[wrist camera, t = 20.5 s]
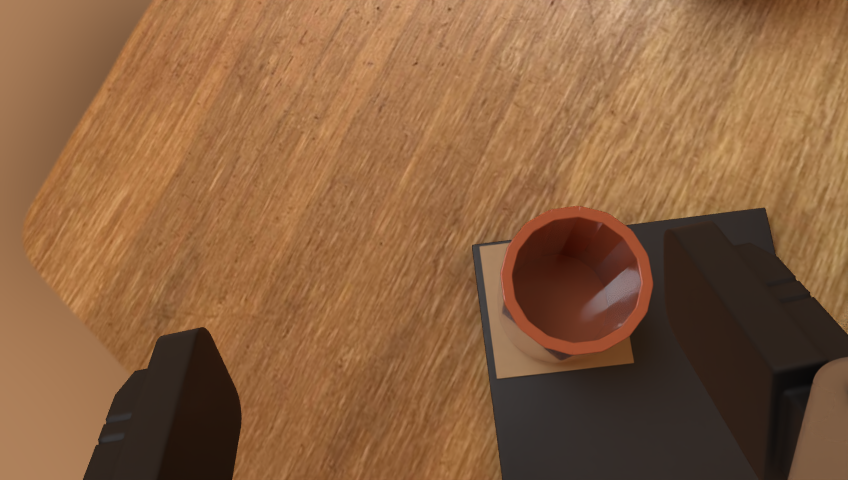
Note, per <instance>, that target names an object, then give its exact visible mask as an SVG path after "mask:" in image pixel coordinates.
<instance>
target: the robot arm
mask: <svg viewBox="0 0 848 480" xmlns="http://www.w3.org/2000/svg"><path fill="white" fill-rule="evenodd" d="M663 246H664V293H665V308H666V313H667V317H668V321H669V324H670V327H671V329H672V332H673V334H674V336H675V338H676V339H677V341H678V343H679V345H680V346H681V348H682V350H683V351H684V353H685V355H686V357H687V358H688V360H689V362H690V363H691V365H692V367H693V368H694V370H695V372H696V374H697V375H698V377H699V379H700V380H701V382H702V384H703V385H704V387H705V389H706V391H707V392H708V394H709V396H710V397H711V399H712V401H713V402H714V404H715V406H716V408H717V409H718V411H719V413H720V414H721V416H722V418H723V420H724V421H725V423H726V425H727V426H728V428H729V430H730V431H731V433H732V435H733V437H734V438H735V440H736V442H737V443H738V445H739V447H740V448H741V450H742V452H743V454H744V455H745V457H746V459H747V460H748V462H749V464H750V465H751V467H752V469H753V471H754V472H755V474H756V476H757V477H758V479H759V480H848V334H847V333H846V332H845V331H844V330H843V329H842V328H841V327H840V326H839V324H838V323H837V322H836V321H835V320H834V319H833V318H832V317H831V316H830V315H829V313H828V312H827V311H826V310H825V309H824V308H823V307H822V306H821V305H820V303H819V302H818V301H817V300H816V299H815V298H814V297H812V298H811V296H810V292H809V291H808V290H807V289H806V288H805V287H804V286H803V285H802V283H801V282H800V281H796V278H795V276H794V275H793V273H792V272H791V271H790V270H789V269H788V268H787V267H786V266H785V265H784V263H783V262H782V261H781V260H780V259H779V258H778V257H777V256H775V255H773V254H771V253H769V252H767V251H765V250H763V249H761V248H760V247H758V246H756V245H754V244H752V243H750V242H749V243H745V244H740V245H735V246H734V245H733V244H732V243H731V242H730V240H729V239H728V238H727V237H726V236H725V234H724V233H723V232H722V231H721V230H720V228H719V227H718V226H717V225H716V224H715V223H714V222H713V221H705V222H700V223H696V224H691V225H686V226H682V227H677V228H672V229H667V230H666V231H665V233H664V240H663ZM241 419H242V418H241V406H240V400H239V396H238V393H237V390H236V388H235V386H234V383H233V381H232V379H231V377H230V375H229V373H228V371H227V368H226V366H225V364H224V362H223V360H222V358H221V356H220V353H219V351H218V349H217V347H216V345H215V343H214V341H213V338H212V336H211V334H210V333H209V331H208V330H207V329H206V328H204V327H201V328H196V329H192V330H187V331H182V332H178V333H173V334H168V335H164V336H160V337H159V338H158V340H157V342H156V345H155V348H154V350H153V353H152V356H151V359H150V362H149V365H148V368H147V369H143V370H138V371H135V372H134V373H133V374H132V375H131V376H130V378H129V379H128V380H127V381H126V383H125V384H124V385H123V386H122V388H121V389H120V390H119V391H118V392H117V394H116V395H115V397H114V399H113V402H112V404H111V407H110V410H109V412H108V415H107V418H106V424H105V425H104V426H103V428H102V431H101V433H100V436H99V439H98V441H99V445H96V447H95V449H94V452H93V455H92V457H91V460H90V462H89V465H88V468H87V470H86V473H85V475H84V478H83V480H232V477H233V471H234V465H235V459H236V453H237V447H238V441H239V435H240V429H241Z"/></svg>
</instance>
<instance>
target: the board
mask: <svg viewBox="0 0 848 480" xmlns="http://www.w3.org/2000/svg"><path fill="white" fill-rule="evenodd" d="M705 221H713V222H714V223H715V224H716V225H717V226H718V227H719V228H720V230H721V231H722V232H723V233H724V234H725V236H726V237H727V238H728V239H729V240H730V242H731V243H732V244H733V245H734V246H735V245H740V244H745V243H749V242H750V243H752V244H754V245H756V246H758V247H760V248H761V249H763V250H765V251H767V252H769V253H771V254H773V255H775V256H776V254H775V250H774V245H773V241H772V236H771V232H770V227H769V223H768V218H767V214H766V209H765V208H757V209H749V210H742V211H734V212H726V213H718V214H710V215H702V216H695V217H687V218H679V219H671V220H663V221H655V222H648V223H640V224H632V225H625V226H627V227H628V228H630V229H631V231H633V232H634V234H635V236H636V237H637V239H638V240H639V242H640V243H641V245H642V246H643V248H644V249H645V251H646V253H647V254H648V255H647V256H648V257H649V262H650V268H651V273H652V278H653V289H652V294H651V298H650V302H649V307H648V311H647V313H646V315H645V316H644V318H643V319H642V320H641V322H640V323H639V324H638V326H637V327H636V329H635V330H634V331H633V333H632V334H631V335H630V336H629V337H628V338H627V339H625V340H623V341H621V342H619V343H618V344H616V345H614V346H612V347H611V348H609V349H607V350H605V351H603V352H601V353H598V354H595V355H593V356H590V357H587V358H585V359H582V360H579V361H576V362H568V363H559V364H552V363H547V362H542V361H539V360H536V359H534V358H531V357H529V356H528V355H526V354H525V353H523V352H522V351H520V350H519V349H518V348H517V347H516V346H515V345H514V344H513V343H512V342H511V341H510V340H509V338H508V337H507V335H506V334H505V332H504V330H503V328H502V325H501V323H500V320H499V314H498V306H497V294H498V286H499V278H500V272H501V268H502V264H503V260H504V257H505V253H506V249H507V247H508V245H509V243H510V242H511V241H512V240H507V241H499V242H491V243H483V244H475V245H472V251H473V259H474V266H475V274H476V282H477V289H478V297H479V305H480V312H481V320H482V328H483V335H484V343H485V350H486V358H487V366H488V373H489V381H490V389H491V396H492V404H493V412H494V419H495V427H496V435H497V442H498V450H499V458H500V465H501V473H502V480H759V479H758V477H757V476H756V474H755V472H754V471H753V469H752V467H751V465H750V464H749V462H748V460H747V459H746V457H745V455H744V454H743V452H742V450H741V448H740V447H739V445H738V443H737V442H736V440H735V438H734V437H733V435H732V433H731V431H730V430H729V428H728V426H727V425H726V423H725V421H724V420H723V418H722V416H721V414H720V413H719V411H718V409H717V408H716V406H715V404H714V402H713V401H712V399H711V397H710V396H709V394H708V392H707V391H706V389H705V387H704V385H703V384H702V382H701V380H700V379H699V377H698V375H697V374H696V372H695V370H694V368H693V367H692V365H691V363H690V362H689V360H688V358H687V357H686V355H685V353H684V351H683V350H682V348H681V346H680V345H679V343H678V341H677V339H676V338H675V336H674V334H673V332H672V329H671V327H670V324H669V321H668V317H667V313H666V308H665V293H664V246H663V240H664V233H665V231H666V230H667V229H672V228H677V227H682V226H686V225H691V224H696V223H700V222H705Z"/></svg>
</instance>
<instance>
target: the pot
mask: <svg viewBox="0 0 848 480" xmlns="http://www.w3.org/2000/svg"><path fill="white" fill-rule="evenodd" d="M647 255H648V254H647V253H646V251H645V249H644V248H643V246H642V245H641V243H640V242H639V240H638V239H637V237H636V236H635V234H634V232H633V231H631V229H630V228H628V227H627V226H625V225H624V224H623V223H621V222H620V221H618V220H617V219H616V218H614V217H613V216H611V215H610V214H607V213H606V212H602V211H598V210H594V209H590V208H586V207H582V206H573V207H565V208H558V209H551V210H548V211H546V212H545V213H543V214H541V215H539V216H538V217H536V218H534V219H532V220H530V221H529V222H527V223H526V224H524V225H523V227H522V228H521V229H520V231H519V232H518V233H517V234H516V236H515V237H514V238H513V240H512V241H511V242H510V243H509V245H508V247H507V249H506V253H505V257H504V260H503V264H502V268H501V272H500V278H499V286H498V294H497V306H498V314H499V320H500V323H501V325H502V328H503V330H504V332H505V334H506V335H507V337H508V338H509V340H510V341H511V342H512V343H513V344H514V345H515V346H516V347H517V348H518V349H519V350H520V351H522V352H523V353H525V354H526V355H528V356H529V357H531V358H534V359H536V360H539V361H542V362H547V363H552V364H559V363H568V362H576V361H579V360H582V359H585V358H587V357H590V356H593V355H595V354H598V353H601V352H603V351H605V350H607V349H609V348H611V347H612V346H614V345H616V344H618V343H619V342H621V341H623V340H625V339H627V338H628V337H629V336H630V335H631V334H632V333H633V331H634V330H635V329H636V327H637V326H638V324H639V323H640V322H641V320H642V319H643V318H644V316H645V315H646V313H647V311H648V307H649V302H650V298H651V294H652V289H653V278H652V273H651V268H650V262H649V257H648V256H647Z"/></svg>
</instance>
